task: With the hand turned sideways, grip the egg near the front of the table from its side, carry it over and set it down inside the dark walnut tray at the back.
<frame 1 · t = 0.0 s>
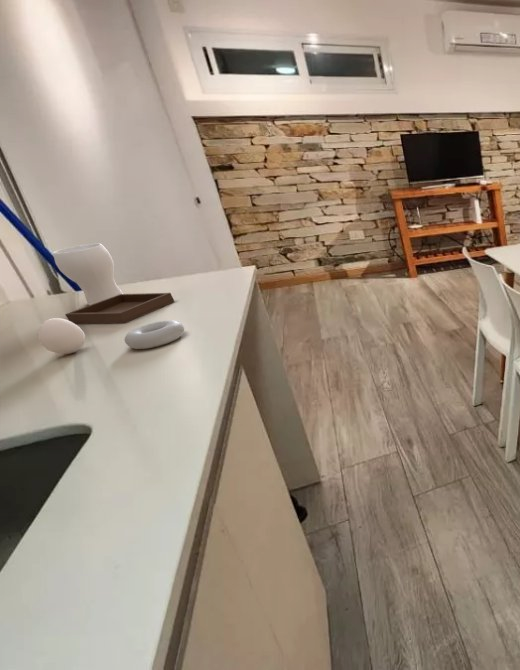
egg: (72, 353, 102), on the worktop
cup: (107, 301, 133), on the worktop
tray: (124, 312, 123), on the worktop
donut: (159, 341, 104), on the worktop
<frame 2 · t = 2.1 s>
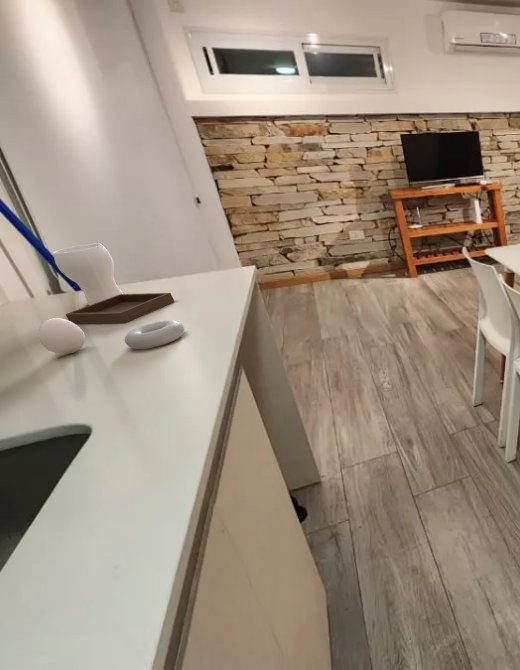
nothing on the worktop moved.
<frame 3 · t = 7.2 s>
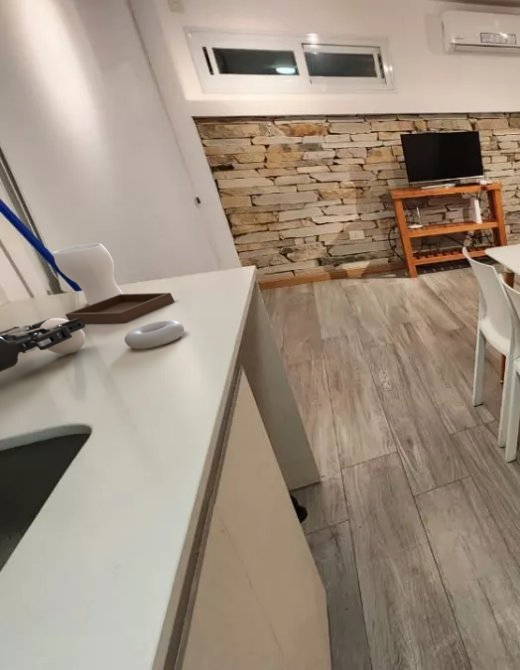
hand: (68, 322, 101), 6 cm above the worktop, tool horizontal, fingers closed on egg, 6 cm apart
egg: (72, 353, 102), on the worktop, touching gripper
everything else where it was.
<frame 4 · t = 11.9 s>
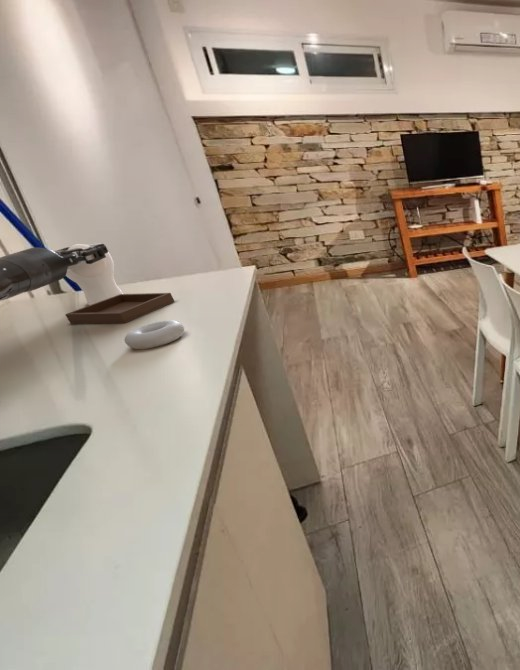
hand: (88, 249, 112), 17 cm above the worktop, tool horizontal, fingers closed on egg, 6 cm apart
egg: (94, 277, 112), point 11 cm above the worktop, touching gripper
everything else where it was.
when the fingers open (7 cm above the worktop, at t = 16.6 s): egg stays where it is, resting on tray.
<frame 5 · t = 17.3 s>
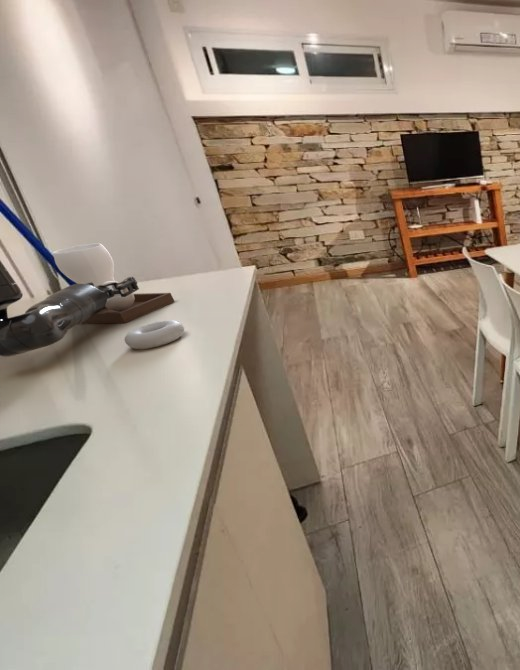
hand: (113, 283, 121), 7 cm above the worktop, tool horizontal, fingers open, 8 cm apart
egg: (124, 310, 122), resting on tray
everything else where it was.
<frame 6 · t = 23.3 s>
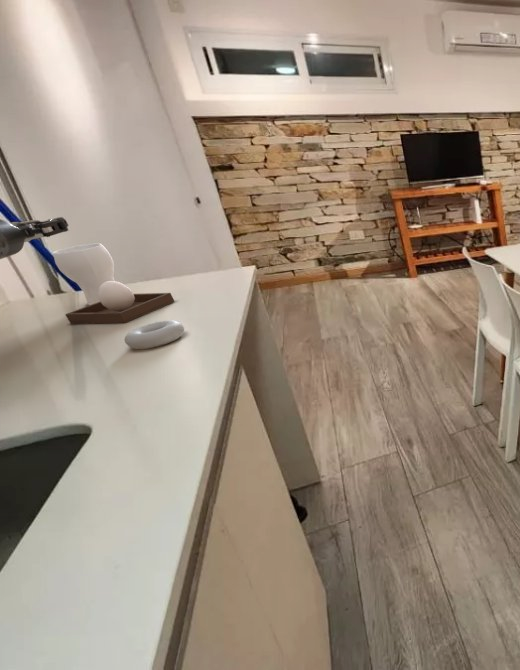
hand: (39, 224, 102), 25 cm above the worktop, tool horizontal, fingers open, 8 cm apart
nothing on the worktop moved.
at the end: egg inside the target area in the tray (0.1 cm from its centre), point 0.4 cm above the tray's base; the gripper is holding nothing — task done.
